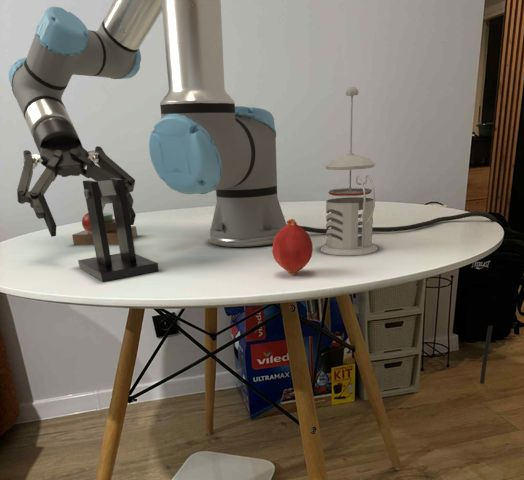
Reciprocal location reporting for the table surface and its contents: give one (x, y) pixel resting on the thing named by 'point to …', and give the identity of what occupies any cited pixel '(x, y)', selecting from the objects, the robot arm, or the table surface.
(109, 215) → the button
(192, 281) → the table surface
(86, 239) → the button block
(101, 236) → the bracket
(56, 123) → the robot arm
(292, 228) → the onion
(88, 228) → the lever
